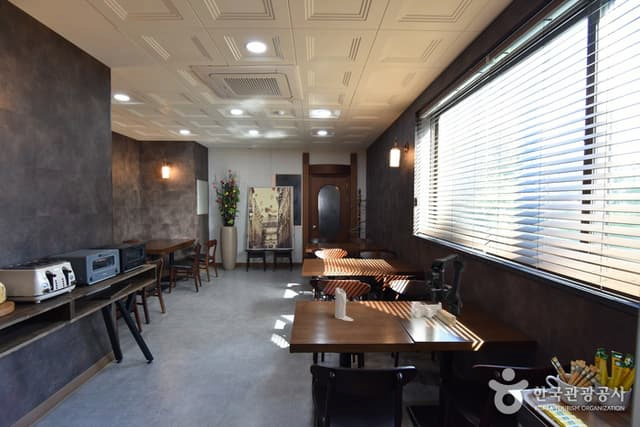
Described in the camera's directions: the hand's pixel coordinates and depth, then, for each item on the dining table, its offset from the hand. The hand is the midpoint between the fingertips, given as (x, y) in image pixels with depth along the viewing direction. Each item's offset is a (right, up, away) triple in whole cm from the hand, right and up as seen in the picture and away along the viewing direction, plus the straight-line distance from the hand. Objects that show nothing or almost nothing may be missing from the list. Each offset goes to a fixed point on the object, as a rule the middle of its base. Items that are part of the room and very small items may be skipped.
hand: (438, 301), depth 215 cm
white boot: (-63, -11, -1) cm, 64 cm away
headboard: (-4, -12, +7) cm, 15 cm away
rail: (+4, -13, -3) cm, 13 cm away
